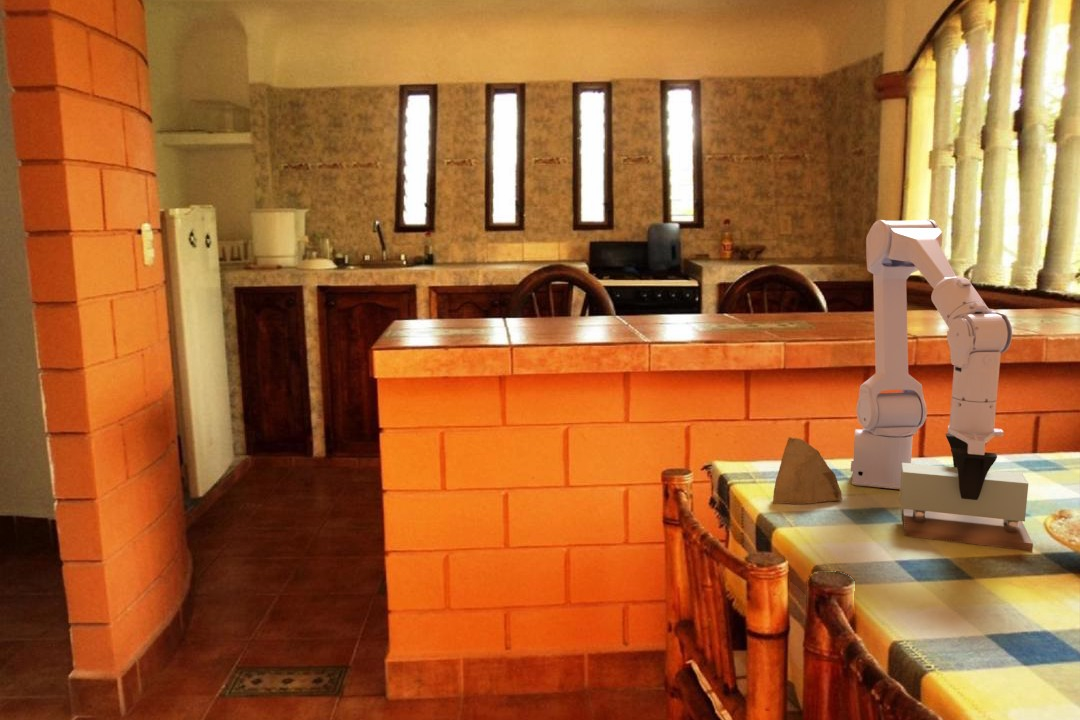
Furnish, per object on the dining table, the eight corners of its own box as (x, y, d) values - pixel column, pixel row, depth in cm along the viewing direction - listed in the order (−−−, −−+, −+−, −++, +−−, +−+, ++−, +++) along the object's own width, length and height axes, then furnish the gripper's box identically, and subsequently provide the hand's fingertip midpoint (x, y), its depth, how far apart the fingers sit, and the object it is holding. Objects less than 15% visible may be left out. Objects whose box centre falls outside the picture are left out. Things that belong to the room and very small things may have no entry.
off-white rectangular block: (1019, 510, 125) (1022, 473, 124) (1024, 521, 121) (1028, 483, 120) (899, 497, 131) (901, 462, 130) (900, 508, 126) (903, 471, 125)
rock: (850, 480, 142) (790, 463, 147) (852, 448, 136) (789, 432, 141) (831, 533, 136) (768, 514, 141) (832, 503, 130) (767, 484, 135)
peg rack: (905, 535, 124) (906, 515, 123) (902, 511, 134) (903, 492, 133) (1032, 550, 118) (1034, 529, 118) (1019, 523, 128) (1021, 504, 128)
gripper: (1013, 411, 115) (1004, 509, 117) (998, 390, 128) (990, 478, 130) (954, 407, 117) (947, 503, 119) (946, 386, 131) (939, 474, 133)
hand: (966, 490), depth 125 cm, fingers open, 7 cm apart
